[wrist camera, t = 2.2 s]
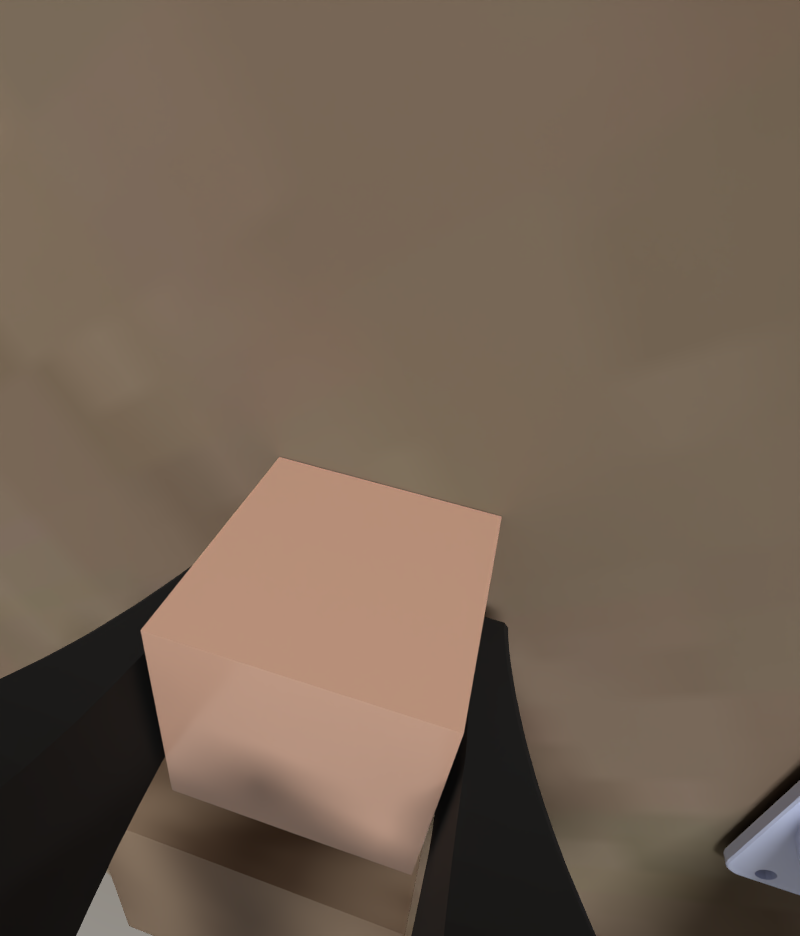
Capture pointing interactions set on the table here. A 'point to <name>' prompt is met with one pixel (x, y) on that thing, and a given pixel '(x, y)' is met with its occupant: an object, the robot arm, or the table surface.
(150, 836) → the walnut block
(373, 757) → the terracotta cube
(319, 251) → the table surface
